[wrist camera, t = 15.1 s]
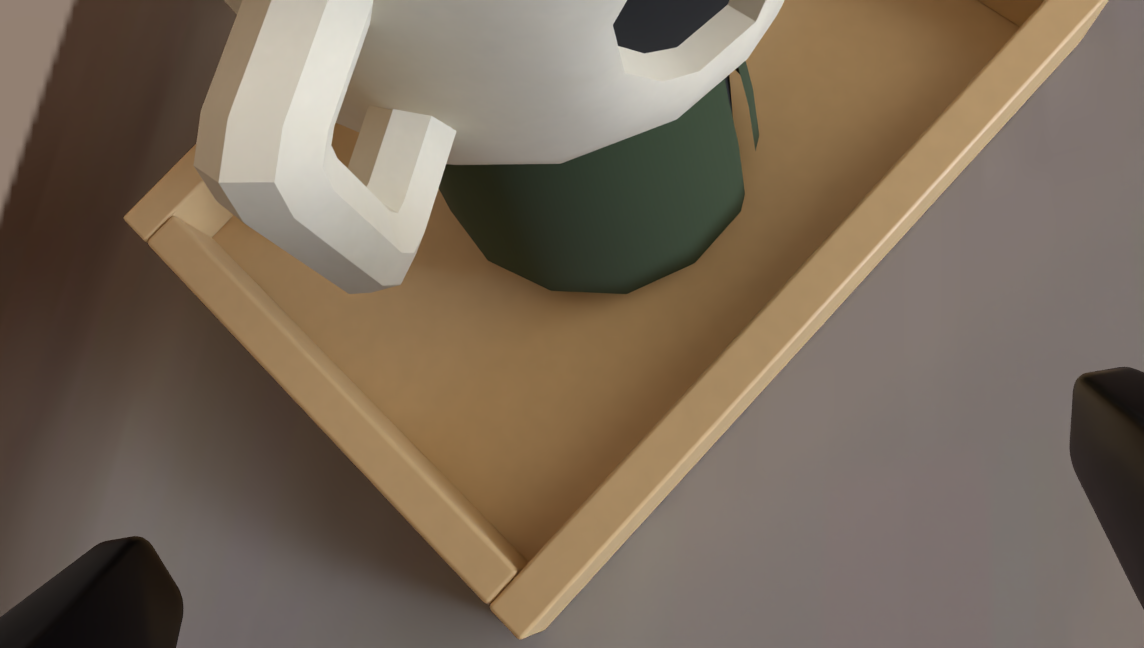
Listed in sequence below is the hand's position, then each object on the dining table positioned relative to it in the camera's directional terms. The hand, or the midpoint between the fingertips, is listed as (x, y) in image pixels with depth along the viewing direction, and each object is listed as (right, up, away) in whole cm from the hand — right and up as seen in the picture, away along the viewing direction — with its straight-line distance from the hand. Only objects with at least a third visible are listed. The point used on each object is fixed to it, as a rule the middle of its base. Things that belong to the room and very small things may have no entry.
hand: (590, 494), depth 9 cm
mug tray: (0, +5, +10) cm, 12 cm away
